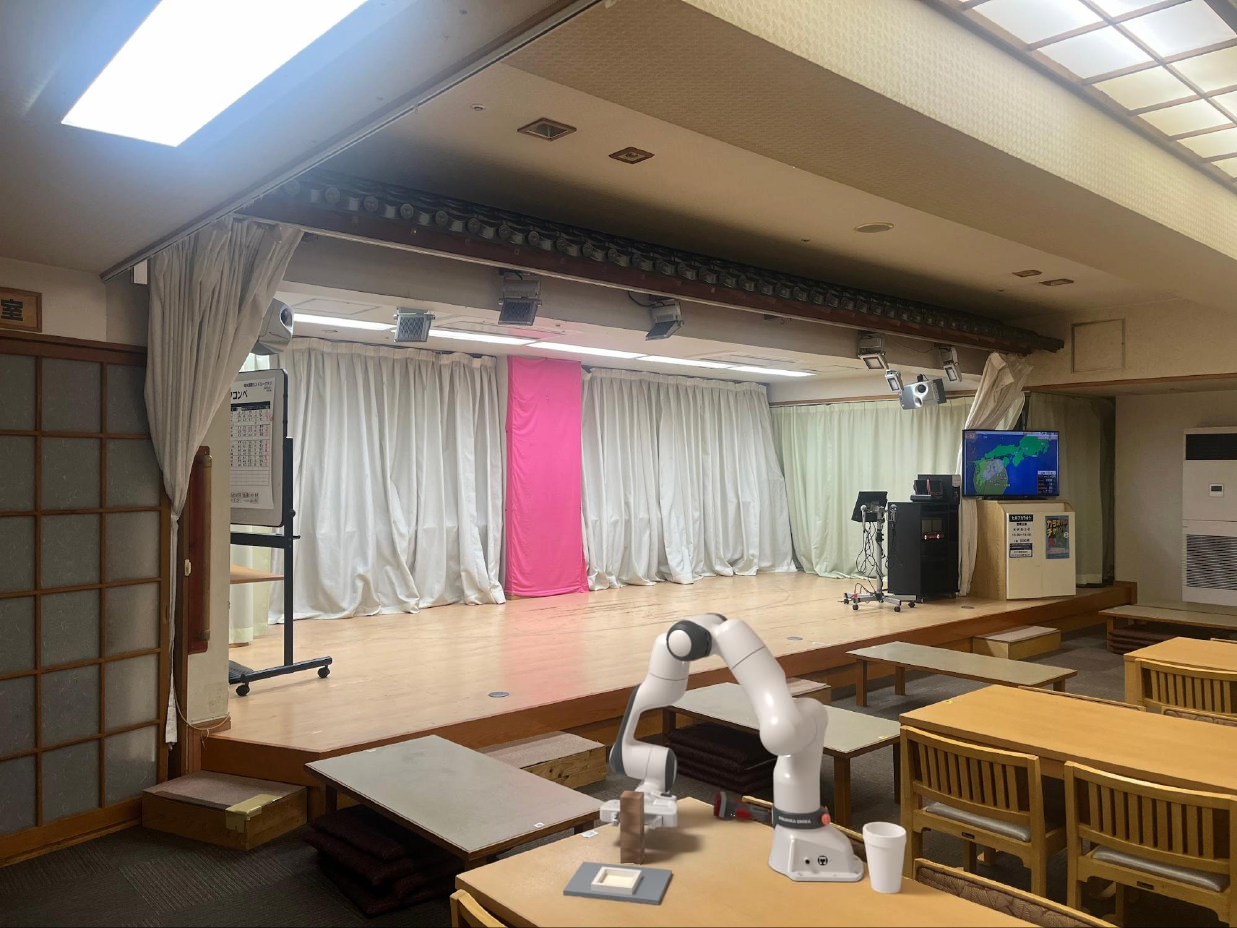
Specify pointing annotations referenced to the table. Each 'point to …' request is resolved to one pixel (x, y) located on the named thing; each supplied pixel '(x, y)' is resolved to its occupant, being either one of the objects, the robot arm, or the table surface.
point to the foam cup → (885, 855)
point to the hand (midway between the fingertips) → (632, 824)
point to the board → (644, 892)
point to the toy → (737, 809)
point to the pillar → (632, 827)
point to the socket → (616, 880)
